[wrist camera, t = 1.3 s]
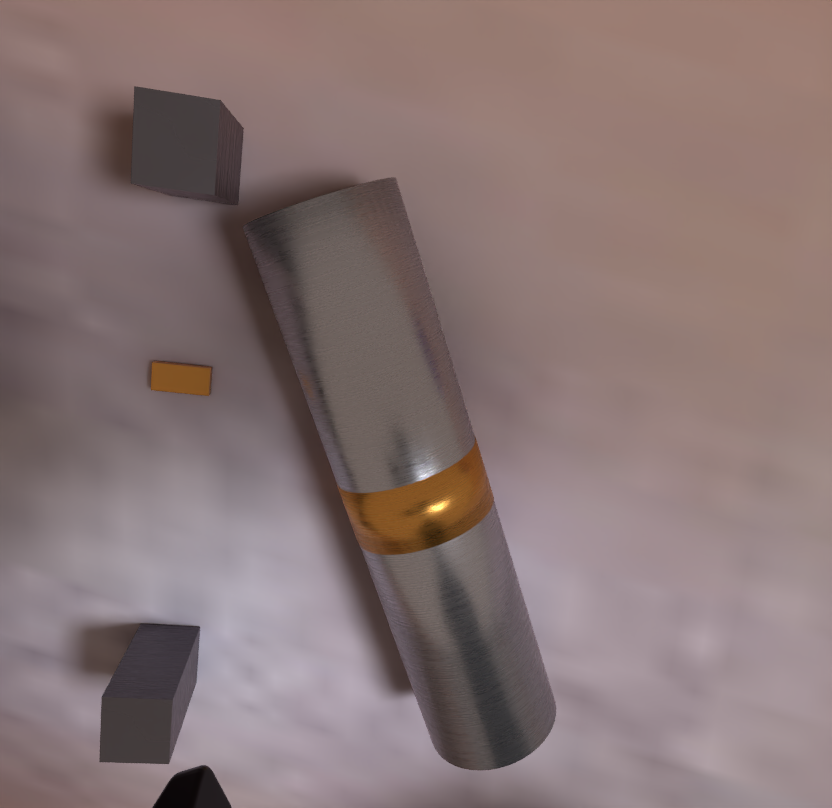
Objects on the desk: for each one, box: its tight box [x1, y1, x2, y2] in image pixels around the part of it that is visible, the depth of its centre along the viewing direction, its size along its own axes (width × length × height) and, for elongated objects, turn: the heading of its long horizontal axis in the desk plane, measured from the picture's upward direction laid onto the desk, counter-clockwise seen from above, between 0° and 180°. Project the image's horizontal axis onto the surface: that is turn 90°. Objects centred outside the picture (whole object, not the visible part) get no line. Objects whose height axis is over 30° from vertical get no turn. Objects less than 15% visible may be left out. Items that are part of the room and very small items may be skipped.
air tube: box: [243, 178, 556, 770], centre depth 19 cm, size 16×4×4 cm, turn 17°
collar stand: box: [100, 86, 244, 764], centre depth 17 cm, size 17×10×4 cm, turn 172°
